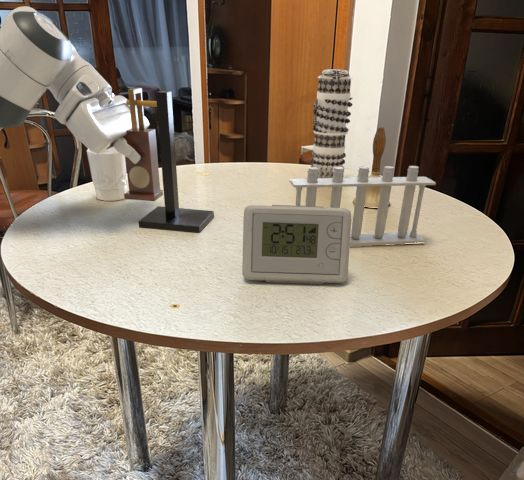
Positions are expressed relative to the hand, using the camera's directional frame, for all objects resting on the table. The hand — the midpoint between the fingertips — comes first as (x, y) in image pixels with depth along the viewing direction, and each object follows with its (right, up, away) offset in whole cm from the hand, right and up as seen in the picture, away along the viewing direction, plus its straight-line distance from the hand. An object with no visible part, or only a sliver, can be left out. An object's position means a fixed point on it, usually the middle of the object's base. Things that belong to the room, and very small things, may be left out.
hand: (144, 158), depth 95 cm
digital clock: (+27, -25, -16) cm, 40 cm away
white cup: (-12, -2, +19) cm, 22 cm away
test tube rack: (+39, -16, -2) cm, 42 cm away
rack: (+4, -10, +5) cm, 13 cm away
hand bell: (+46, -3, +19) cm, 50 cm away
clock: (-1, -6, +4) cm, 7 cm away
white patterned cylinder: (+38, +7, +35) cm, 52 cm away
